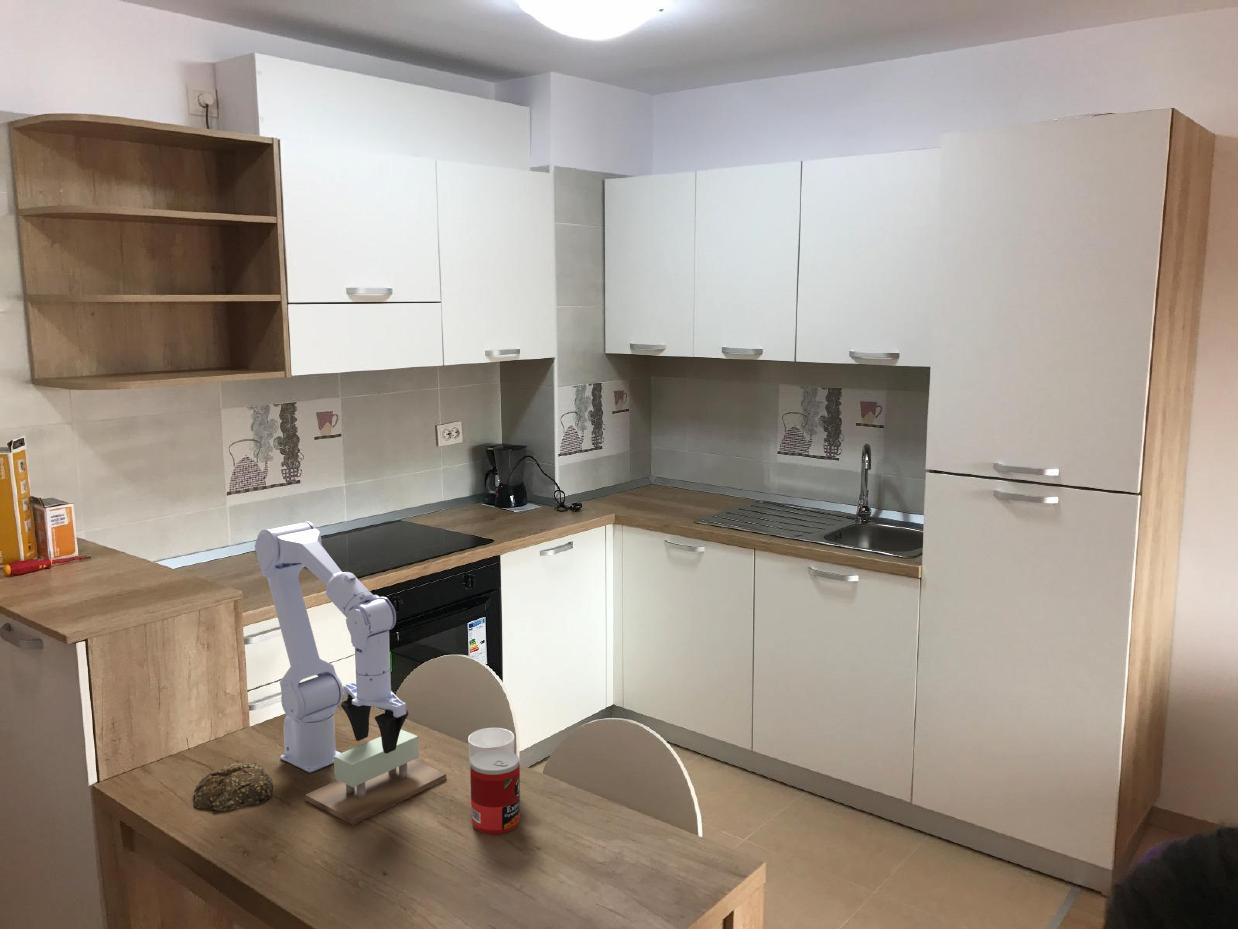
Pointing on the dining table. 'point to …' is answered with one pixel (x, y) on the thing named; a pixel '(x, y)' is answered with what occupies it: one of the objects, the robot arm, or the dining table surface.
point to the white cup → (490, 740)
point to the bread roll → (233, 787)
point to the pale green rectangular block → (374, 759)
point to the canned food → (495, 791)
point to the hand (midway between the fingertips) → (375, 744)
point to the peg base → (375, 792)
